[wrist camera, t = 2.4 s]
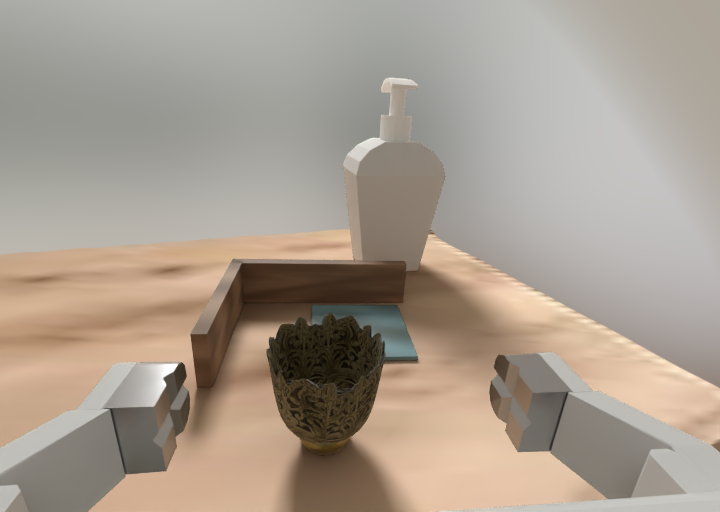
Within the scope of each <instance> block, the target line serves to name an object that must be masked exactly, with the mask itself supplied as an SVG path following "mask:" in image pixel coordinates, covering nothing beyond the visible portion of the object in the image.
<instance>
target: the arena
mask: <svg viewBox="0 0 720 512" xmlns="http://www.w3.org/2000/svg"><path fill="white" fill-rule="evenodd" d="M406 266H407V264H406V263H405V261H365V260H281V259H233V260H232V262H231V263H230V265H229V267H228V269H227V270H226V272H225V274H224V276H223V277H222V279H221V281H220V283H219V285H218V286H217V288H216V290H215V292H214V293H213V295H212V297H211V299H210V300H209V302H208V304H207V306H206V308H205V309H204V311H203V313H202V315H201V316H200V318H199V320H198V322H197V324H196V325H195V327H194V329H193V331H192V332H191V342H192V350H193V358H194V366H195V374H196V382H197V387H212V386H213V384H214V381H215V378H216V376H217V373H218V370H219V368H220V365H221V362H222V360H223V357H224V355H225V352H226V349H227V347H228V344H229V341H230V339H231V336H232V333H233V331H234V328H235V326H236V323H237V320H238V318H239V315H240V312H241V310H242V307H243V305H244V303H316V302H403V295H404V285H405V276H406ZM327 313H332V314H334V315H335V317H336V320H337V319H340V318H342V317H345V316H349V315H352V316H353V317H354V318H355V319H356V320H357V321H358V323H359V326H360V327H361V328H362V330H363V327H364V326H366V325H371V328H372V332H371V334H372V337H373V336H374V335H375V334H377V333H380V334H381V338H382V342H383V340H384V341H385V353H386V357H385V358H384V359H385V360H417V358H418V356H417V353H416V351H415V348H414V346H413V343H412V341H411V338H410V336H409V333H408V331H407V328H406V326H405V323H404V321H403V318H402V316H401V313H400V311H399V308H398V306H397V305H312V324H314V323H316V324H318V325H322V324H323V323H322V321H323V320H322V319H323V317H324V316H325V315H326V314H327ZM324 319H325V318H324ZM323 322H324V321H323Z"/></svg>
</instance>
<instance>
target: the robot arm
mask: <svg viewBox="0 0 720 512" xmlns="http://www.w3.org/2000/svg"><path fill="white" fill-rule="evenodd" d="M494 368H495V370H496V372H497V373H498V375H497V376H496V377H495V378H494V379H493V380H492V381H491V386H490V401H491V405H492V408H493V410H494V412H495V414H496V416H497V417H498V418H499V419H501V420H502V421H504V422H505V423H507V425H506V430H505V431H506V433H507V435H508V436H509V438H510V440H511V441H512V443H513V445H514V446H515V448H516V450H517V451H518V452H539V451H551V452H550V453H551V454H552V455H554V456H555V457H556V458H557V459H559V460H560V461H561V462H562V463H564V464H565V465H566V466H567V467H569V468H570V469H571V470H572V471H574V472H575V473H576V474H577V475H579V476H580V477H581V478H582V479H584V480H585V481H586V482H587V483H589V484H590V485H591V486H593V487H594V488H595V489H596V490H598V491H599V492H600V493H601V494H603V495H604V496H605V497H606V498H608V499H606V500H592V501H578V502H565V503H551V504H537V505H522V506H508V507H493V508H479V509H464V510H450V511H435V512H720V452H718V451H717V450H716V449H715V448H714V447H713V446H712V445H710V444H708V443H706V442H704V441H702V440H699V439H697V438H695V437H693V436H691V435H689V434H687V433H685V432H683V431H681V430H679V429H677V428H675V427H672V426H670V425H668V424H666V423H664V422H662V421H660V420H658V419H656V418H654V417H652V416H650V415H648V414H645V413H643V412H641V411H639V410H637V409H635V408H633V407H631V406H629V405H627V404H625V403H623V402H621V401H618V400H616V399H614V398H612V397H610V396H608V395H606V394H604V393H602V392H600V391H593V390H592V389H591V388H590V387H589V386H588V385H587V384H586V383H585V382H584V381H583V380H582V379H581V378H580V377H579V376H578V375H577V374H576V373H575V372H574V371H573V370H572V369H571V368H570V367H569V366H568V365H567V364H566V363H565V362H564V361H563V360H562V359H561V358H560V357H559V356H558V355H557V354H555V353H552V352H545V353H534V354H510V355H498V357H497V358H496V361H495V365H494ZM186 377H187V375H186V370H185V365H184V364H183V363H182V362H140V363H138V362H127V363H117V364H114V365H113V366H112V367H111V368H110V369H109V370H108V371H107V373H106V374H105V375H104V376H103V378H102V379H101V380H100V381H99V382H98V384H97V385H96V386H95V387H94V389H93V390H92V391H91V392H90V393H89V395H88V396H87V397H86V398H85V400H84V401H83V402H82V403H81V404H80V406H79V407H78V408H77V409H76V410H68V411H67V412H65V413H63V414H61V415H59V416H57V417H56V418H54V419H52V420H50V421H48V422H47V423H45V424H43V425H41V426H39V427H37V428H36V429H34V430H32V431H30V432H28V433H26V434H25V435H23V436H21V437H19V438H17V439H15V440H14V441H12V442H10V443H8V444H6V445H4V446H3V447H1V448H0V512H88V511H89V510H90V509H91V508H92V507H93V506H94V505H95V504H96V503H97V502H98V501H100V500H101V499H102V498H103V497H104V496H105V495H106V494H107V493H108V492H109V491H110V490H112V489H113V488H114V487H115V486H116V485H117V484H118V483H119V482H120V481H121V480H122V479H123V478H125V474H137V473H149V472H161V471H166V470H167V468H168V466H169V463H170V461H171V459H172V456H173V454H174V452H175V449H176V447H177V445H176V438H175V437H176V436H178V435H179V434H180V433H181V432H183V430H184V428H185V425H186V423H187V420H188V415H189V410H190V397H189V391H188V390H187V389H186V388H185V387H184V386H183V383H184V381H185V379H186Z"/></svg>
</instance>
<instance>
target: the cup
mask: <svg viewBox="0 0 720 512" xmlns="http://www.w3.org/2000/svg"><path fill="white" fill-rule="evenodd" d="M324 318H325V319H324ZM306 320H307V319H306V318H303V317H299V318H298V319H297V321H296V323H295V325H294V326H293V324H282V325H281V326H280V328H279V330H278V332H277V335H276V339H273V338H274V337H273V338H272V337H270V338H269V346H270V349H267V358H268V361H269V366H270V372H271V378H272V383H273V389H274V394H275V398H276V403H277V406H278V410H279V412H280V415H281V417H282V420H283V421H284V423H285V424H286V426H287V427H288V428H289V430H290V431H292V432H293V433H294V434H295V435H296V436H298V437H299V438H300V440H301V442H302V444H303V445H304V446H305V448H306V449H308V450H309V451H310V452H312V453H314V454H318V455H330V454H334V453H336V452H338V451H339V450H341V449H342V448H343V447H344V446H345V445H346V443H347V442H348V440H349V438H350V437H351V436H353V435H354V434H355V433H356V432H357V431H359V430H360V429H361V427H362V426H363V425H364V423H365V422H366V420H367V419H368V417H369V415H370V412H371V410H372V407H373V404H374V401H375V397H376V394H377V389H378V385H379V381H380V376H381V372H382V368H383V364H384V360H385V359H384V358H385V357H386V353H385V341H384V340H383V342H382V338H381V334H380V333H377V334H375V335H374V336H373V337H372V334H371V332H372V328H371V325H366V326H364V327H363V330H362V328H361V327H360V326H359V323H358V321H357V320H356V319H355V318H354V317H353V316H352V315H349V316H345V317H342V318H340V319H337V320H336V317H335V315H334V314H332V313H327V314H326V315H325V316H324V317H323V319H322V320H323V321H324V322H323V321H322V323H323V324H322V325H318V324H316V323H314V324H311V325H312V326H308V325H307V321H306Z"/></svg>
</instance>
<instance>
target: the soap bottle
mask: <svg viewBox="0 0 720 512" xmlns="http://www.w3.org/2000/svg"><path fill="white" fill-rule="evenodd" d="M407 89H410V90H417V89H418V85H417V84H416V83H415V82H414V81H412V80H409V79H400V78H386V79H385V80H384V82H383V84H382V87H381V92H387V93H389V92H391V97H390V110H389V115H381V126H380V127H381V128H380V138H370V139H368V140H366V141H364V142H362V143H360V144H358V145H357V146H356V147H355V148H354V149H352V150H351V151H350V152H349V153H348V154H347V156H346V159H345V162H344V164H343V171H344V180H345V189H346V198H347V207H348V216H349V225H350V234H351V242H352V251H353V257H354V259H355V260H365V261H405V263H406V264H407V266H406V271H418V268H419V265H420V261H421V258H422V254H423V251H424V248H425V244H426V241H427V238H428V234H429V231H430V227H431V224H432V220H433V217H434V214H435V210H436V207H437V204H438V200H439V197H440V193H441V190H442V187H443V183H444V180H445V172H444V168H443V164H442V162H441V161H440V160H439V158H438V157H437V156H436V155H435V153H434V152H433V151H431V150H429V149H428V148H426V147H425V146H423V145H422V144H420V143H417V142H412V141H410V133H411V123H412V117H408V116H404V111H405V101H406V90H407Z"/></svg>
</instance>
